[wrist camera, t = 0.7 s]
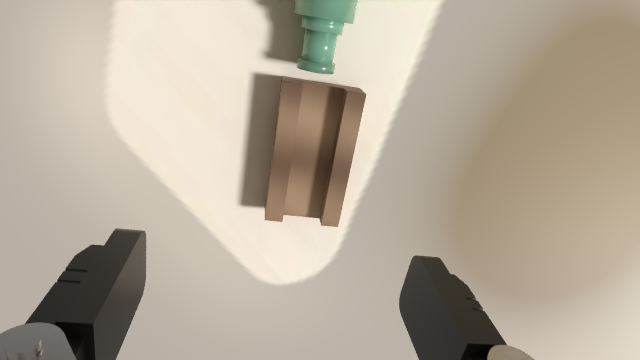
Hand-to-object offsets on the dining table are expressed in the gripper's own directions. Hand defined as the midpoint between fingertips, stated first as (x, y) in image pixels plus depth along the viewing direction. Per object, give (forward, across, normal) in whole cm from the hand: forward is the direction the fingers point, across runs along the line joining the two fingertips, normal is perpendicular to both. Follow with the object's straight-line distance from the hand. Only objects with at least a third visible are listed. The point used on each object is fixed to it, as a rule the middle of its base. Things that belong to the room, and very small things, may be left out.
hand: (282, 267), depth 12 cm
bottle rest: (+21, -3, +4) cm, 21 cm away
